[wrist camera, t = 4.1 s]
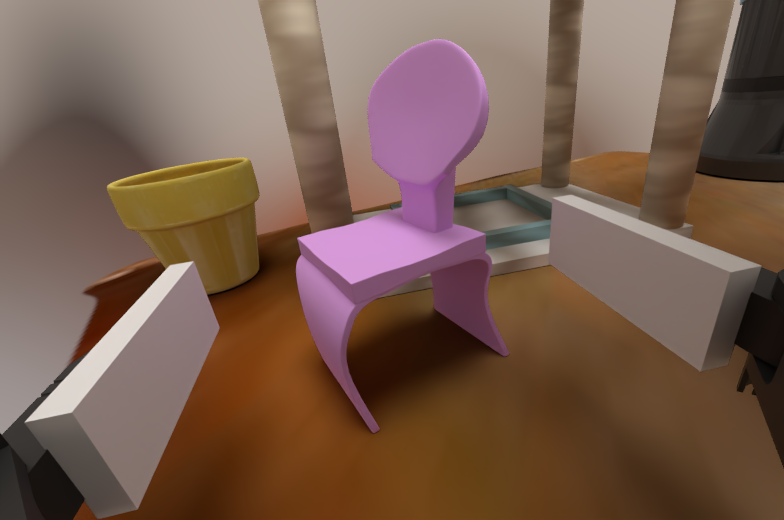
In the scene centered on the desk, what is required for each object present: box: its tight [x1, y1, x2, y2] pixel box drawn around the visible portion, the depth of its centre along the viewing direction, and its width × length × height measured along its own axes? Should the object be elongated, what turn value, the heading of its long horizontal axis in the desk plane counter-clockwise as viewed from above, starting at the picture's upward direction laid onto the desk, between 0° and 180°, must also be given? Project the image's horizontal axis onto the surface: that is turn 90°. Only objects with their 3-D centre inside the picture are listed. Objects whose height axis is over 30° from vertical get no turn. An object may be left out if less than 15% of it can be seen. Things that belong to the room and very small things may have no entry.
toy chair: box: [296, 39, 510, 433], centre depth 17 cm, size 8×9×15 cm
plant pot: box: [107, 158, 259, 295], centre depth 31 cm, size 10×10×10 cm
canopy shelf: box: [258, 0, 734, 298], centre depth 30 cm, size 29×18×25 cm, turn 100°
